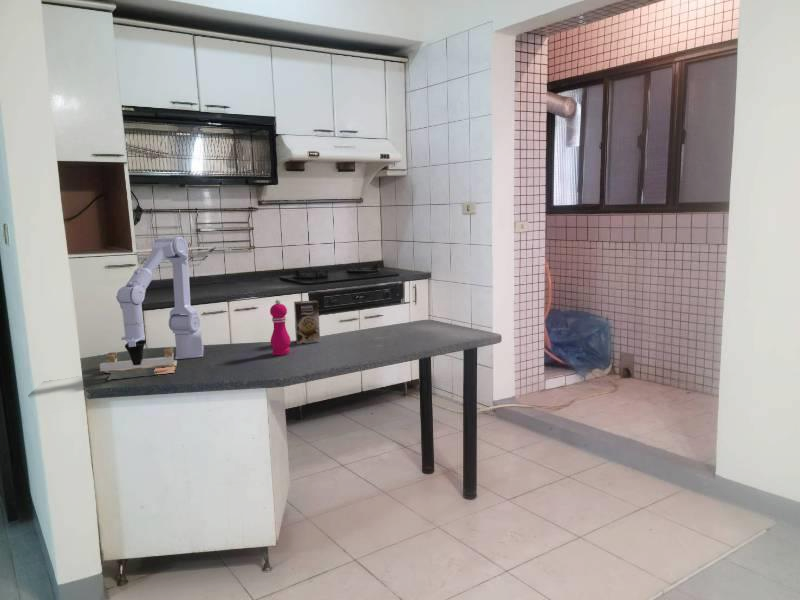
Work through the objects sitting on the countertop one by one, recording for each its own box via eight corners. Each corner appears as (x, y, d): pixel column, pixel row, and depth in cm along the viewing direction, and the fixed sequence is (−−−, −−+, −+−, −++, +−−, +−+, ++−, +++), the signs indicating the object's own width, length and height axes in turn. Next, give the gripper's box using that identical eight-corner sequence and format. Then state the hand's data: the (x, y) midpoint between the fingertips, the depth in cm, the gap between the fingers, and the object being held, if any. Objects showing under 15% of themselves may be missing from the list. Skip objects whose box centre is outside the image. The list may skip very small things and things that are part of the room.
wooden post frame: (176, 362, 206) (175, 346, 205) (175, 367, 200) (174, 350, 199) (108, 369, 200) (106, 352, 199) (104, 374, 194) (102, 356, 193)
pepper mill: (267, 355, 213) (263, 300, 210) (279, 350, 219) (276, 297, 216) (282, 356, 209) (279, 301, 206) (295, 352, 216) (292, 298, 213)
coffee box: (297, 344, 228) (294, 303, 226) (295, 341, 235) (293, 301, 232) (320, 342, 231) (318, 301, 228) (318, 339, 237) (316, 299, 234)
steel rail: (174, 362, 196) (173, 356, 196) (173, 364, 194) (173, 357, 194) (101, 369, 190) (101, 363, 190) (100, 371, 188) (99, 364, 188)
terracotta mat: (175, 367, 199) (175, 366, 199) (173, 373, 192) (173, 372, 192) (111, 374, 194) (110, 372, 194) (106, 380, 186) (106, 379, 186)
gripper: (123, 320, 196) (127, 360, 198) (116, 328, 182) (120, 370, 184) (146, 318, 198) (150, 357, 200) (140, 326, 184) (145, 368, 186)
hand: (137, 363), depth 192 cm, fingers closed on steel rail, 2 cm apart
